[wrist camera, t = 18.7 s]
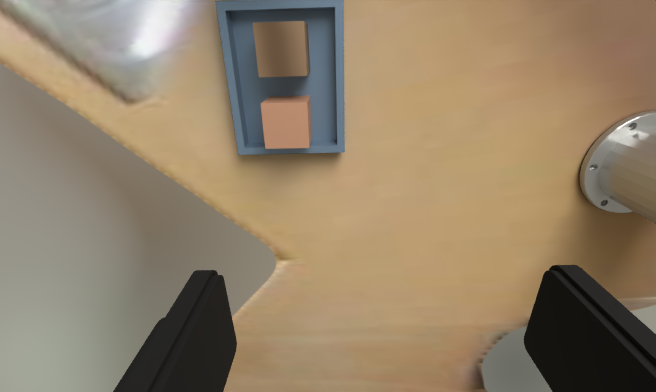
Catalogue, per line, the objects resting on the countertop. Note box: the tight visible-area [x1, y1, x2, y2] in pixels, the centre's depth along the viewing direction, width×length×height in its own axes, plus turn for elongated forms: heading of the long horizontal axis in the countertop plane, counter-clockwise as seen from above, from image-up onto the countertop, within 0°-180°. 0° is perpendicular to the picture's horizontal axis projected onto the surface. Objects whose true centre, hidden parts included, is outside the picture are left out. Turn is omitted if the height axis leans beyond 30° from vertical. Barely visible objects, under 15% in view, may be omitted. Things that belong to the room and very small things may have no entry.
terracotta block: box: [261, 96, 312, 149], centre depth 34 cm, size 4×4×5 cm
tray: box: [215, 0, 345, 155], centre depth 34 cm, size 12×15×2 cm
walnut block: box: [253, 21, 310, 77], centre depth 31 cm, size 4×4×5 cm
